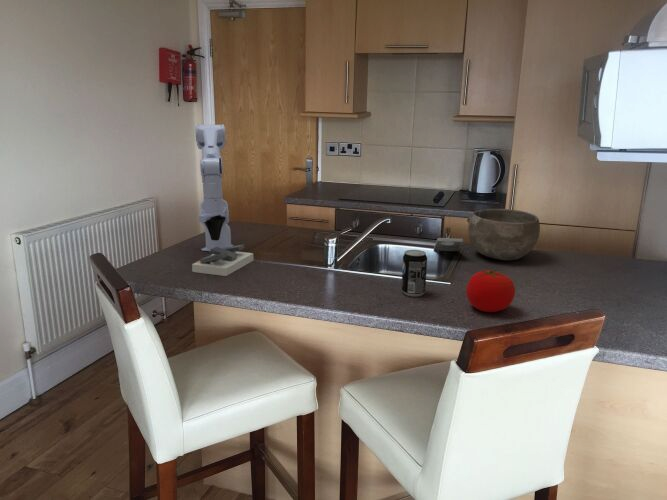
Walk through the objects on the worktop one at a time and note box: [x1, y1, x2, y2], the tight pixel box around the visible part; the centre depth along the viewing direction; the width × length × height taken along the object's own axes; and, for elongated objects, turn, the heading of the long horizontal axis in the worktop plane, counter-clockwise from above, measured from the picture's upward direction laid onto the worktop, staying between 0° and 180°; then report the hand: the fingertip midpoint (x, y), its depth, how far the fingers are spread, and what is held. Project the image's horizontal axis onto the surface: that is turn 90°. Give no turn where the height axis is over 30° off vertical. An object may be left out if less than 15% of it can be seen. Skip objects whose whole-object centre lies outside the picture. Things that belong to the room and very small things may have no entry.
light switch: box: [433, 237, 464, 252], centre depth 191 cm, size 8×6×14 cm
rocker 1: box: [199, 252, 228, 263], centre depth 172 cm, size 4×8×1 cm, turn 71°
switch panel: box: [191, 251, 254, 277], centre depth 178 cm, size 18×12×3 cm, turn 161°
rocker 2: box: [209, 247, 238, 260], centre depth 177 cm, size 4×8×1 cm, turn 71°
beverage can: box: [401, 249, 428, 298], centre depth 153 cm, size 7×7×12 cm
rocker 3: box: [222, 244, 245, 252], centre depth 182 cm, size 4×8×1 cm, turn 71°
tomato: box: [465, 270, 516, 313], centre depth 142 cm, size 11×12×10 cm
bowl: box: [466, 208, 541, 262], centre depth 190 cm, size 24×24×15 cm
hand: (215, 239), depth 172 cm, fingers closed
